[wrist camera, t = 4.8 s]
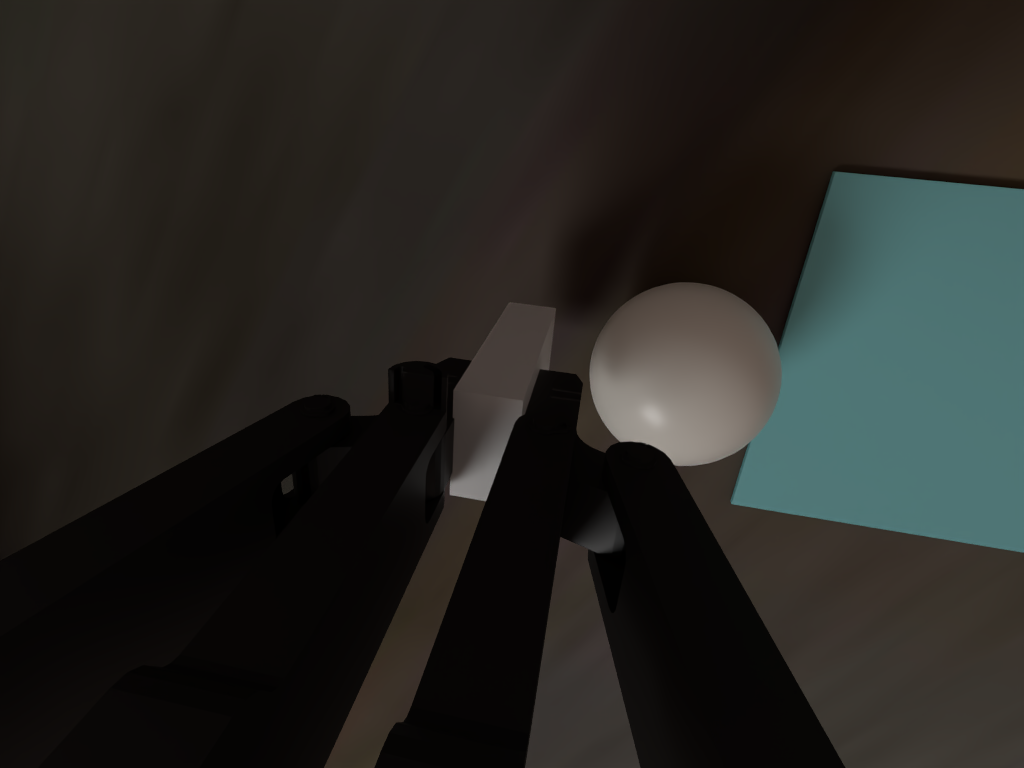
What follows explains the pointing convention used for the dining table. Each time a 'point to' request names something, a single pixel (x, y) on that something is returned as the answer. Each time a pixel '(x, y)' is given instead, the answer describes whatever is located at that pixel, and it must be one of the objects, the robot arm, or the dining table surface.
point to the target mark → (903, 366)
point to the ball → (686, 372)
